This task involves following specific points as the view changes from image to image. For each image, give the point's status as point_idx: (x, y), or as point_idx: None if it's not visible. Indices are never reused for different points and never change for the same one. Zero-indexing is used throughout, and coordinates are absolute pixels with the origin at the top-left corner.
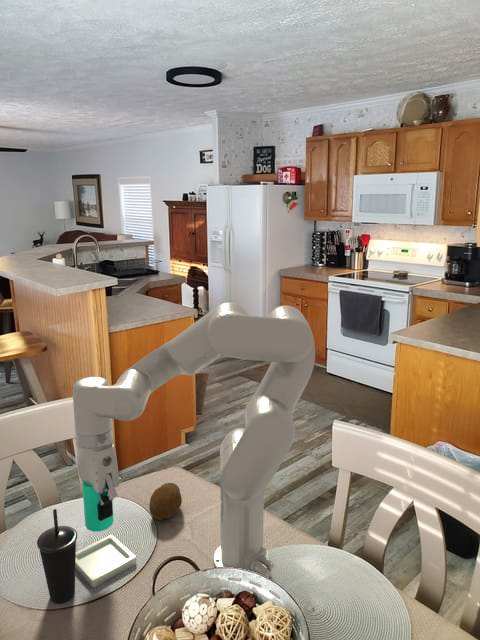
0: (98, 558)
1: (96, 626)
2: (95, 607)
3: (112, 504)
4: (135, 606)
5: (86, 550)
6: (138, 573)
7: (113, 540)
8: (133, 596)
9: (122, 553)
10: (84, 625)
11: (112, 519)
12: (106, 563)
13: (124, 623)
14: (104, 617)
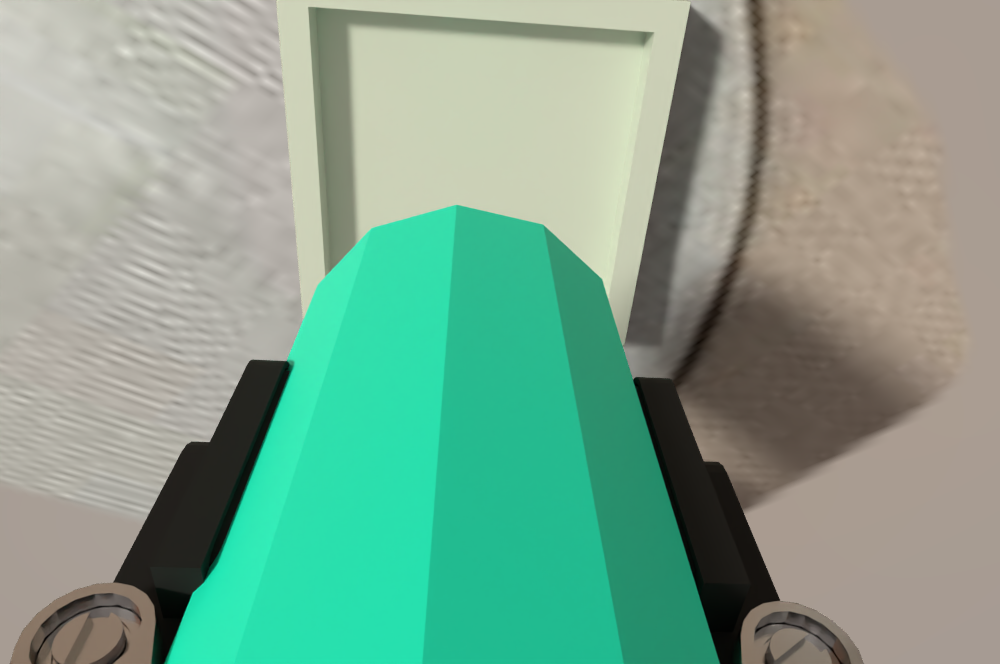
0: (438, 186)
1: (832, 422)
2: (738, 373)
3: (574, 361)
4: (935, 236)
5: (323, 221)
6: (763, 48)
7: (365, 10)
8: (874, 199)
9: (527, 25)
10: (776, 451)
11: (586, 282)
12: (526, 176)
13: (950, 335)
14: (828, 376)
